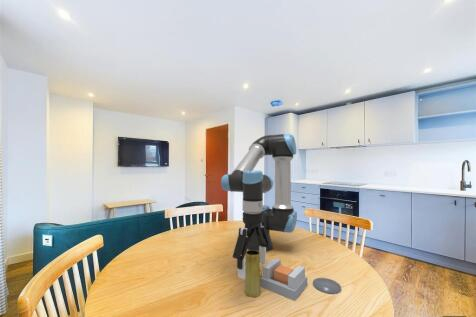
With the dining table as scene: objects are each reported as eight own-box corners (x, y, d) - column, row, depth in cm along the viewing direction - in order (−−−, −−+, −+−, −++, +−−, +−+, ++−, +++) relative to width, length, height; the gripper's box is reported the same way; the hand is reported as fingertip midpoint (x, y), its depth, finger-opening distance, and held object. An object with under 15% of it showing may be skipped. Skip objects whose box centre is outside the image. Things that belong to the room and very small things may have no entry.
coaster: (309, 287, 79) (309, 285, 79) (317, 276, 87) (317, 275, 87) (337, 297, 73) (337, 295, 73) (343, 285, 80) (343, 283, 80)
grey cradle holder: (260, 286, 80) (260, 267, 80) (275, 273, 89) (275, 257, 89) (294, 300, 71) (294, 279, 71) (307, 285, 80) (307, 266, 81)
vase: (263, 295, 74) (263, 254, 74) (247, 298, 72) (247, 256, 73) (257, 286, 79) (257, 248, 80) (242, 288, 78) (242, 250, 78)
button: (273, 279, 80) (273, 270, 80) (280, 273, 84) (280, 265, 84) (287, 284, 76) (287, 274, 76) (293, 278, 80) (293, 269, 81)
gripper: (240, 219, 65) (239, 289, 64) (277, 208, 85) (277, 261, 83) (222, 216, 70) (222, 281, 69) (261, 206, 89) (262, 256, 88)
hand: (252, 270), depth 76 cm, fingers open, 13 cm apart
